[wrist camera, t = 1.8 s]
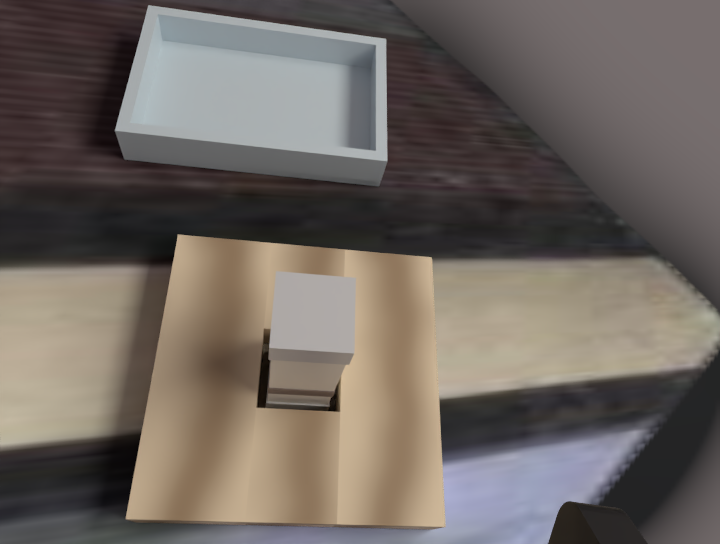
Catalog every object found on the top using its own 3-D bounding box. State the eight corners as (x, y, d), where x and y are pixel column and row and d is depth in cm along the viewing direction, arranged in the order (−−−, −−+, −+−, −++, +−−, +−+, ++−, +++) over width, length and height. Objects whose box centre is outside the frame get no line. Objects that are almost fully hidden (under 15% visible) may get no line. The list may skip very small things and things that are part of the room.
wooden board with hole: (135, 522, 30) (125, 519, 28) (182, 254, 37) (178, 234, 35) (432, 529, 32) (445, 526, 30) (422, 274, 39) (431, 257, 37)
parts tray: (124, 159, 40) (114, 130, 37) (155, 37, 45) (148, 5, 42) (379, 186, 42) (387, 161, 39) (378, 68, 47) (385, 38, 45)
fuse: (265, 409, 33) (269, 347, 24) (270, 351, 35) (275, 271, 25) (326, 412, 34) (354, 353, 24) (329, 355, 36) (355, 277, 26)
